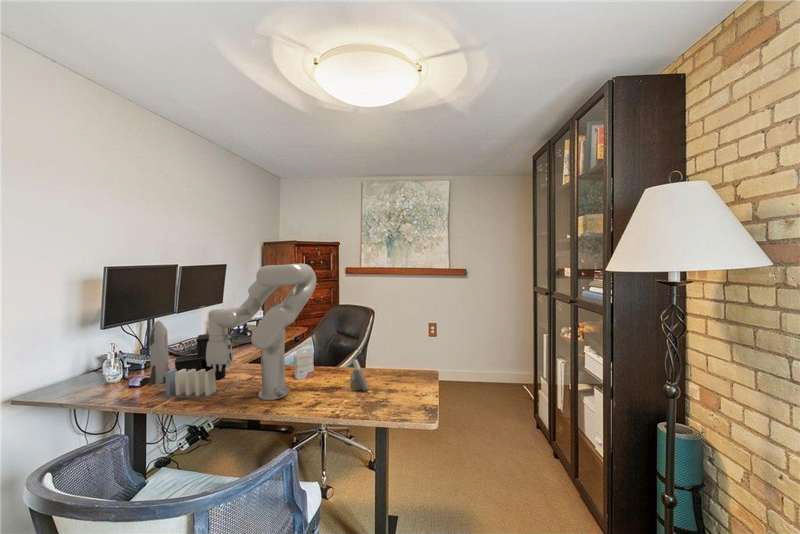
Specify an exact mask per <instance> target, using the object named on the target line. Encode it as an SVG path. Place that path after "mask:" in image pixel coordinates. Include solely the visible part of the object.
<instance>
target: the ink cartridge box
mask: <svg viewBox="0 0 800 534" xmlns="http://www.w3.org/2000/svg"><path fill="white" fill-rule="evenodd" d="M304 351H305V352H304ZM313 351H314V349H313V347H309V348H301V349H297V350H296V353H294V354H293V360H294V361H293V362H294V378H295V379H296V380H298V381H299V380H304V379H308V378H314V377H315V370H314V369H315V368H314V367H315V366H314V365H315V363H314V352H313Z"/></svg>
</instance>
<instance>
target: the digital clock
mask: <svg viewBox="0 0 800 534" xmlns="http://www.w3.org/2000/svg"><path fill="white" fill-rule="evenodd" d="M352 365H353V369H354V370H353V372H351V374H350V377H349V378H350V385H351V391H359V390H363V392H367V391H368V390H369V386H368V384H367V380H366V378H365V375H364V373H363V370H362V367H361V365H360V362H359V361H358V359H354V360H353V361H352Z"/></svg>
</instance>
